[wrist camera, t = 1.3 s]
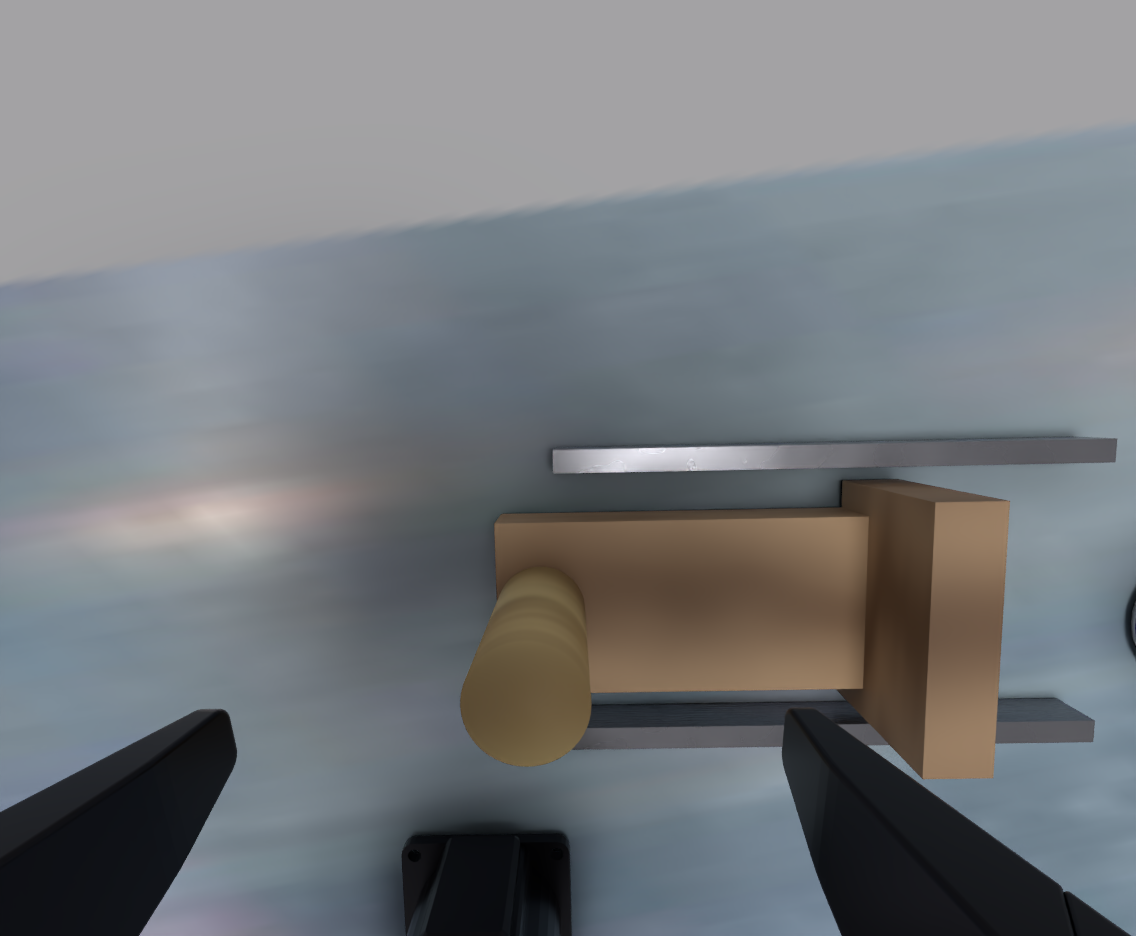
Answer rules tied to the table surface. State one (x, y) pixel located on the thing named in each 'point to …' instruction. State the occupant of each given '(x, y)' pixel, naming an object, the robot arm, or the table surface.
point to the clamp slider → (752, 617)
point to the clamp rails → (767, 719)
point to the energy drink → (1134, 623)
